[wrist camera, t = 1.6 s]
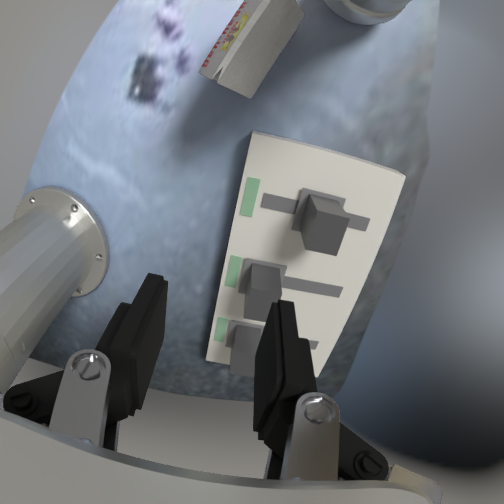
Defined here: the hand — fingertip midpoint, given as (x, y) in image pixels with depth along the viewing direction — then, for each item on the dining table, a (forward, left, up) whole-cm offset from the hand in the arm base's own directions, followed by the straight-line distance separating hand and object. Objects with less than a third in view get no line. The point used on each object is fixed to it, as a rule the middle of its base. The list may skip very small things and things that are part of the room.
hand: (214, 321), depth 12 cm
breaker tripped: (+3, -6, -15) cm, 16 cm away
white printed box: (+9, +7, -18) cm, 21 cm away
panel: (-3, -9, -17) cm, 20 cm away
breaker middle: (-4, -7, -15) cm, 17 cm away
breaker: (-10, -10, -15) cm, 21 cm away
